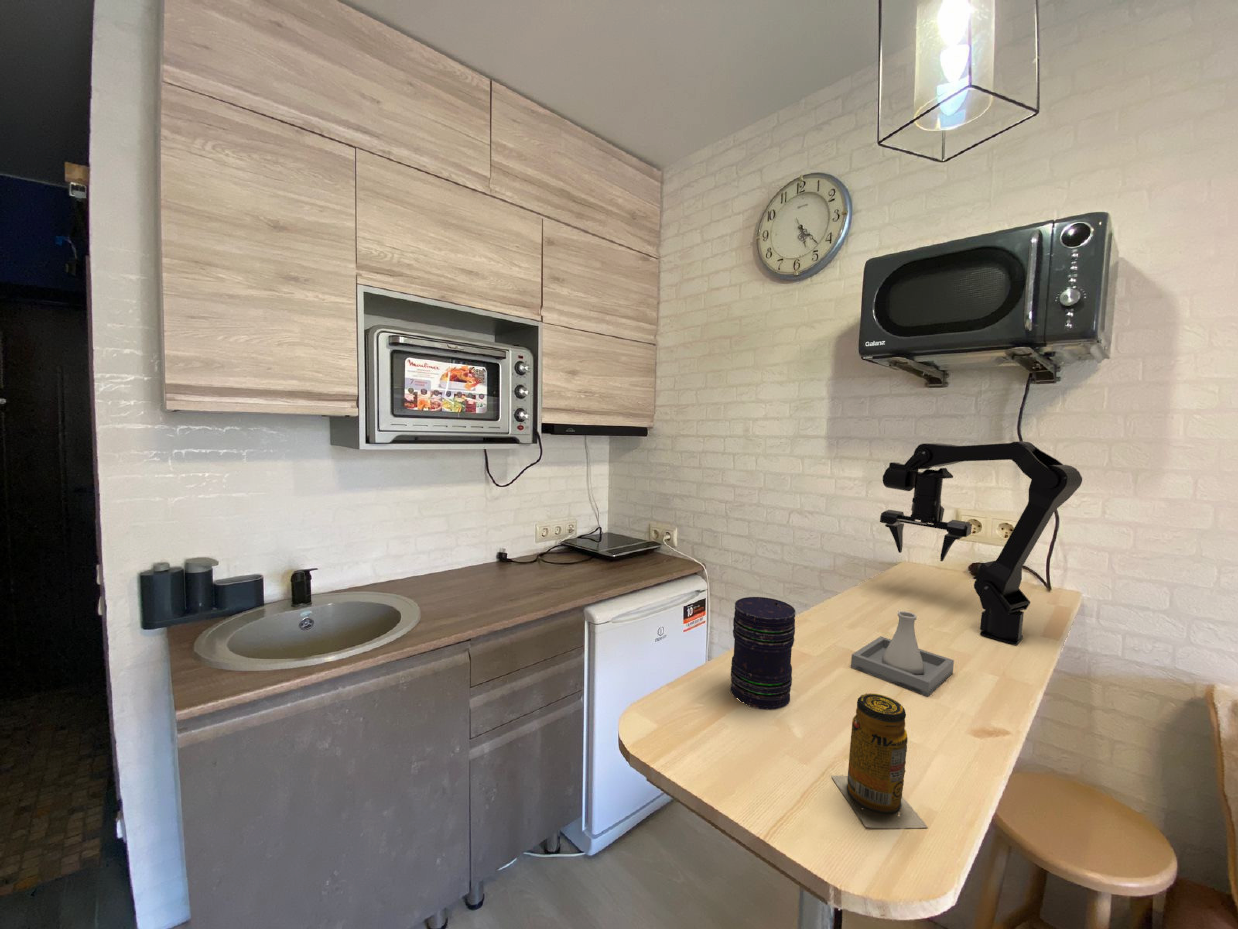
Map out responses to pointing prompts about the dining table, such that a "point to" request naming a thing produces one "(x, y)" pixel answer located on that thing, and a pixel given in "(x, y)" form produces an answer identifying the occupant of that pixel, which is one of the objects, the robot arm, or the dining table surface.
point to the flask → (904, 646)
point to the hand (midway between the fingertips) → (920, 556)
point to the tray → (923, 684)
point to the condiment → (878, 765)
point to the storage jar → (762, 652)
